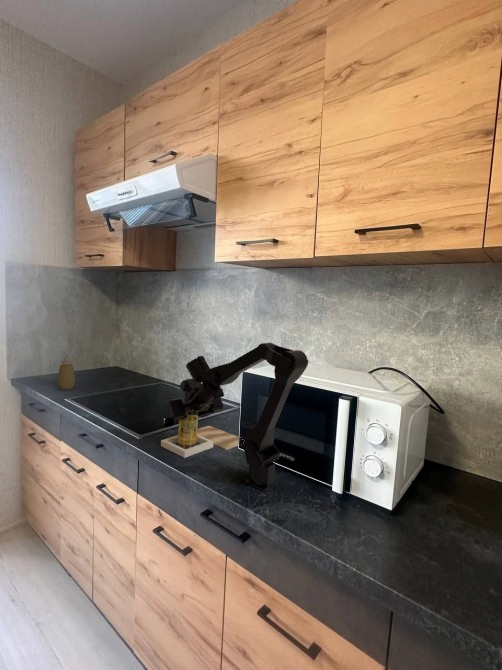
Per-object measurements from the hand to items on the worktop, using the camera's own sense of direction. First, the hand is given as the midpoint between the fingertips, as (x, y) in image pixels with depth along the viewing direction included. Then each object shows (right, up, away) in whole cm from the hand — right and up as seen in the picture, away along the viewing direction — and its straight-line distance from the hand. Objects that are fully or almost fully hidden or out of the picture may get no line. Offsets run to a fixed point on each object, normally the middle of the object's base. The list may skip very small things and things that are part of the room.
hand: (186, 417), depth 122 cm
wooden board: (+9, -9, +9) cm, 16 cm away
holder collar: (0, -10, 0) cm, 10 cm away
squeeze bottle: (-74, 0, +64) cm, 98 cm away
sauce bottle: (0, -10, 0) cm, 10 cm away
